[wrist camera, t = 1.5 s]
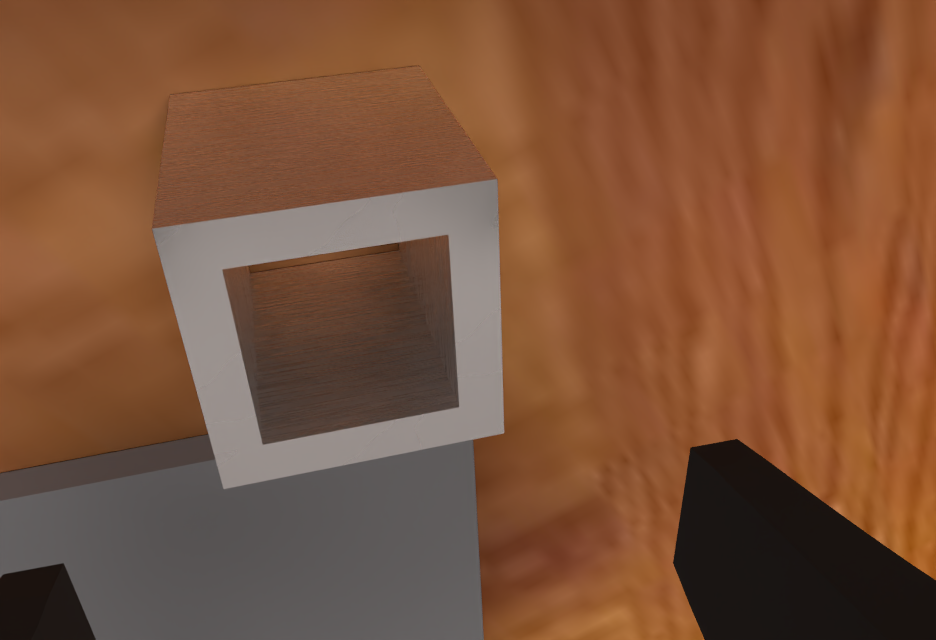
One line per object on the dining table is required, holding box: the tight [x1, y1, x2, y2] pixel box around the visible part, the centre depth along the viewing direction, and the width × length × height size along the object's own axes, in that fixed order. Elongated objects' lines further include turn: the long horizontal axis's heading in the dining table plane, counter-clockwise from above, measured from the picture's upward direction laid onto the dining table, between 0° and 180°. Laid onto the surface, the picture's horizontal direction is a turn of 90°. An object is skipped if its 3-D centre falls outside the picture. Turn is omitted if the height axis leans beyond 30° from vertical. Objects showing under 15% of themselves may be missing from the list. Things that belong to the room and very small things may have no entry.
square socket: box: [152, 66, 504, 489], centre depth 16 cm, size 5×5×6 cm
